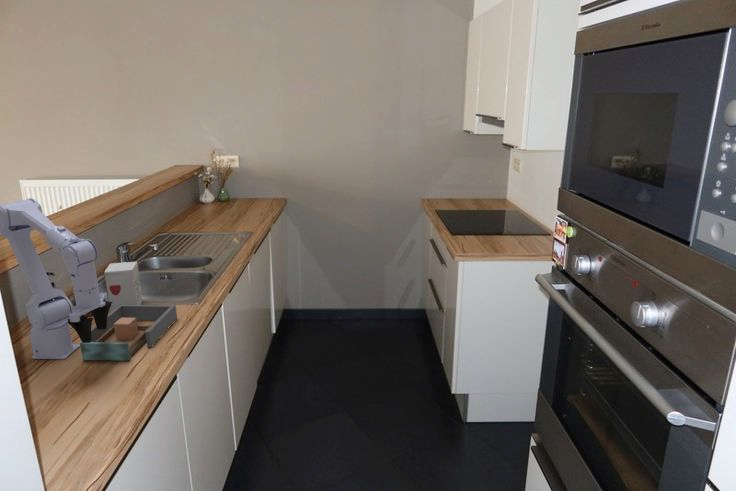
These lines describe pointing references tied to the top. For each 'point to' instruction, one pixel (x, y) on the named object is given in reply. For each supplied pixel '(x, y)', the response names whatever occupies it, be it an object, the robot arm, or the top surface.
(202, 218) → the top surface
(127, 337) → the terracotta block
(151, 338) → the organiser housing
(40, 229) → the robot arm
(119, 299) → the supplement box
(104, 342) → the tray
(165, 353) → the top surface
